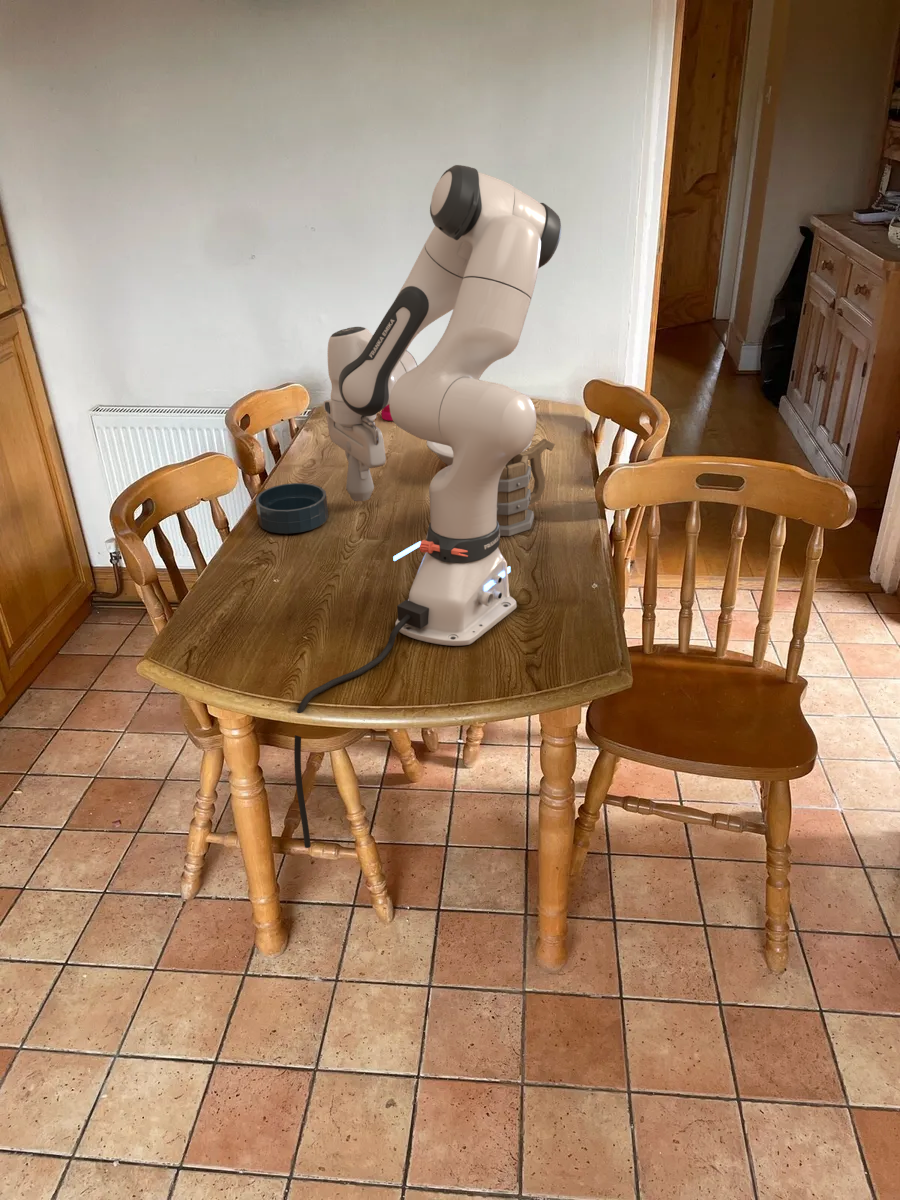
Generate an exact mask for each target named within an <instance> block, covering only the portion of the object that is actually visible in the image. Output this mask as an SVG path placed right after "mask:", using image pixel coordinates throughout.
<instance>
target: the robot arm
mask: <svg viewBox="0 0 900 1200" xmlns="http://www.w3.org/2000/svg"><path fill="white" fill-rule="evenodd" d="M429 206H430V207H429V214H430V218H431V221H432V223H433V225H434V227H433V228H432V231H431V232H430V234H429V235H428V237H427V239H426V240H425V243H424V244H423V246H422V248H421V251H419V254H418V256H417V258H416V260H415V262H414V264H413V266H412V268H411V270H410V272H409V273H408V276H407V278H406V280H405V281H404V283H403V285H402V287H401V288H400V290H399V292H398V294H397V295H396V297H395V299H394V301H393V302H392V304H391V305H390V307H389V308H388V310H387V312H386V313H385V315H384V316H383V318H382V320H381V321H380V323H379V325H377V328H376V330H375V331H374V333H373V334H372V333H371V332H370V330H369V329H368V328H367V327H364V326H351V327H346V328H343V329H340V330H337V331H336V332H334V333H332V334H331V335H330V336H329V338H328V343H327V371H328V372H327V373H328V378H329V381H330V384H331V391H330V399H327V400H324V401H323V410H324V411H325V412H326V422H327V423H326V424H327V431H328V434H329V435H328V436H329V439H330V440H331V442H332V443H333V444H335V445H336V446H337V447H339V448H341V449H342V450H343V451H344V454H345V457H346V460H347V462H348V463H349V454H350V455H352V456H353V457H355V458H356V459H357V460H358V461H359V464H360V468H359V476H360V478H361V479H367V478H368V477H369V471H368V470H369V469H376V468H380V467H384V466H385V464H386V461H387V456H386V448H385V441H384V436H383V432H382V430H381V429H380V428H379V427H378V426H377V425H376V422H375V420H376V419H377V414H378V413H380V412H381V411H382V410H383V408H385V407H386V406H387V405H389V407H390V413H391V417H392V419H393V421H392V422H393V423H394V424H395V426H397V427H398V428H399V429H401V430H403V431H405V432H406V433H409V434H410V435H411V436H414V437H415V438H418V439H419V440H424V441H427V440H428V441H431V442H435V443H439V444H443V445H447V446H450V447H452V450H453V463H452V465H450V466H448V465H447V466H445V467H442V469H440V470H439V471H438V472H437V473H435V475H434V476H433V477H432V479H431V481H430V483H429V487H428V495H429V516H430V517H429V518H430V519H429V520H430V522H429V524H428V528H427V532H426V537H425V538H426V539H422V540H420V541H418V542H415V543H414V544H413V545H411V546H409V547H407V548H405V549H404V550H402V551H401V552H399V553H396V555H394V556H393V557H392V558H393V561H394V562H396V561H397V560H399V559H401V558H403V557H405V556H406V555H408V554H409V553H411V552H413V551H414V550H416V549H418V548H419V552H420V553H424V555H423V557H422V559H421V563H420V565H419V567H418V569H417V572H416V574H415V576H414V580H413V582H412V584H411V587H410V590H409V592H408V593H409V594H408V599H405V600H403V601H402V602H400V603H399V604H397V605H396V611H397V619H396V621H395V624H394V627H393V628H392V630H391V632H390V634H389V636H388V641H387V644H386V645H385V647H384V648H383V650H382V651H381V652H380V654H378V656H376V657H375V658H374V659H373V660H371V661H369V662H367V663H366V664H364V665H363V666H361V667H359V668H357V669H355V670H353V671H351V672H347V673H346V674H345V673H344V674H343V675H340V676H338V677H335V678H333V679H331V680H329V681H327V682H325V683H323V684H321V685H320V686H318V687H316V688H313V689H311V690H310V691H309V692H307V694H306V695H305V696H304V697H303V698H302V700H301V701H300V703H299V705H298V707H297V710H296V713H297V714H302V713H304V712H305V710H306V708H307V706H308V705H309V703H310V701H311V700H312V699H313V698H314V697H315V696H318V695H320V694H321V693H323V692H325V691H327V690H329V689H331V688H332V687H335V686H337V685H339V684H341V683H345V682H346V681H349V680H352V679H354V678H356V677H359V676H361V675H363V674H364V673H366V672H368V671H369V670H371V669H373V668H374V667H376V666H377V665H379V664H380V663H381V662H382V661H383V660H384V659H385V658H386V657H387V656H388V655H389V653H390V652H391V650H392V649H393V647H394V644H395V642H396V638H397V635H398V634H399V633H400V634H402V635H404V636H405V637H409V638H412V639H413V640H414V639H415V640H418V641H421V642H425V643H431V644H434V645H441V646H455V647H457V646H458V647H459V646H470V645H471V644H473V643H474V642H475V641H477V640H478V639H480V637H482V636H483V635H484V634H485V633H487V632H488V631H490V630H491V629H492V628H493V627H495V625H497V624H498V623H500V622H501V621H503V619H504V618H506V617H507V616H509V615H510V614H511V613H512V612H513V611H514V610H516V609H517V606H518V605H517V601H516V599H515V598H514V597H512V596H511V595H510V584H509V574H510V573H511V566H508V562H507V560H506V559H505V557H504V555H503V554H502V552H501V550H500V548H499V547H500V543H501V542H500V541H501V536H500V529H499V523H498V521H497V493H498V484H499V479H500V476H501V473H502V471H503V469H504V467H505V466H506V464H507V463H508V462H509V461H510V460H511V459H512V458H513V457H515V456H516V455H518V454H520V453H521V452H522V451H523V450H524V449H525V448H526V447H527V446H528V445H529V443H530V442H531V440H532V441H533V438H534V436H535V433H536V429H537V423H538V422H537V421H538V419H537V412H536V407H535V405H534V402H533V401H532V399H531V397H529V396H528V395H527V394H525V393H523V392H521V391H518V390H517V389H514V388H513V387H510V386H508V385H506V384H503V383H498V382H492V381H487V380H483V379H480V378H481V377H482V375H483V374H484V373H485V371H486V370H487V369H488V368H489V367H490V366H491V365H492V364H494V363H495V362H497V361H499V360H501V359H504V358H506V357H508V356H509V355H512V353H513V352H514V351H515V350H516V348H517V346H518V345H519V343H520V339H521V337H522V332H523V329H524V325H525V322H526V319H527V315H528V312H529V308H530V305H531V302H532V297H533V294H534V290H535V286H536V282H537V277H538V271H539V269H540V268H542V267H544V266H545V265H547V264H548V263H549V262H550V260H551V259H552V257H553V256H554V254H555V252H556V250H557V248H558V247H559V243H560V240H561V236H562V223H561V218H560V216H559V214H558V213H556V211H555V210H554V209H553V208H551V207H550V206H548V205H547V204H546V203H544V202H539V201H537V200H536V199H534V198H533V197H532V196H531V195H529V194H527V193H525V192H523V191H521V190H520V189H519V188H516V187H515V186H513V184H511V183H509V182H506V181H505V180H503V179H500V178H497V177H495V176H492V175H490V174H486V173H483V172H480V171H478V169H477V168H475V167H471V166H467V165H461V164H453V166H451V167H449V168H447V169H446V170H445V171H444V172H443V174H442V175H441V176H440V178H439V179H438V181H437V183H436V184H435V187H434V189H433V192H432V195H431V201H430V205H429ZM451 311H452V312H451ZM450 312H451V315H450V318H449V320H448V323H447V326H446V328H445V331H444V333H443V334H442V336H441V338H440V339H439V340H438V342H437V344H436V345H435V347H434V348H433V349H432V350H431V352H430V353H429V354H428V355H427V356H426V357H425V359H423V360H422V361H421V362H420V364H417V361H416V359H415V358H414V356H413V355H412V354H411V353H410V351H408V349H409V347H410V345H411V343H412V342H413V341H414V339H415V338H416V337H417V336H418V335H419V334H420V333H421V332H422V331H423V330H424V329H426V327H428V326H429V325H431V324H432V323H434V322H436V321H437V320H438V319H440V318H441V317H443V316H445V315H447V314H448V313H450ZM346 441H348V442H349V443H350V444H351V452H350V451H348V449H347V447H346ZM523 452H524V451H523ZM293 747H294V749H293V750H294V753H293V754H294V755H293V757H294V760H293V761H294V778H295V788H296V795H297V801H298V809H299V814H300V821H301V827H302V828H301V829H302V835H303V843H304V848H305V849H309V848H311V847H312V846H311V837H310V829H309V821H308V815H307V808H306V801H305V794H304V786H303V775H302V736H299V735H295V734H294V746H293Z"/></svg>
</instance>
